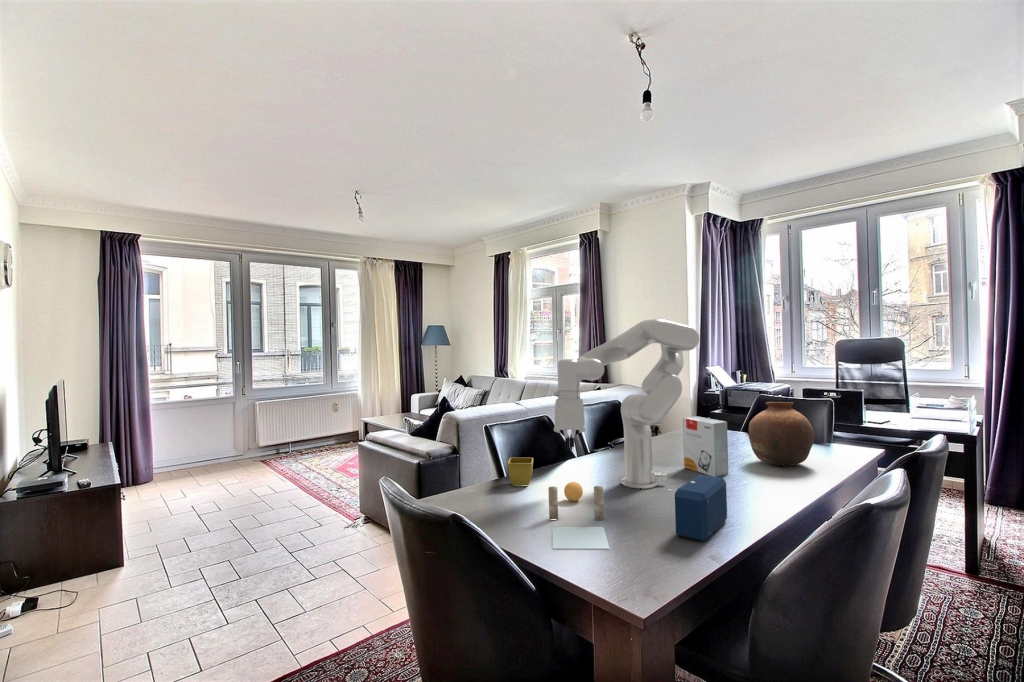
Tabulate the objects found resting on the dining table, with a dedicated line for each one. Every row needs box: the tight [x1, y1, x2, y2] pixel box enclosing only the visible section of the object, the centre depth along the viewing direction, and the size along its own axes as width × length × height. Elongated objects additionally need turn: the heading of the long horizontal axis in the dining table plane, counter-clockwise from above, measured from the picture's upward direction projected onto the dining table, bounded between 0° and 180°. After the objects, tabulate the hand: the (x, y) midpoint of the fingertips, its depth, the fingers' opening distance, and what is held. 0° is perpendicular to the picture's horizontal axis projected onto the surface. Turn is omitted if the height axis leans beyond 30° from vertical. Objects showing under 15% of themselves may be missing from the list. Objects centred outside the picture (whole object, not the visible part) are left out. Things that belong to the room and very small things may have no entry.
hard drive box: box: [682, 415, 729, 477], centre depth 189 cm, size 16×8×20 cm, turn 25°
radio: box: [674, 451, 728, 542], centre depth 133 cm, size 21×9×20 cm, turn 141°
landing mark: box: [551, 526, 611, 550], centre depth 129 cm, size 14×14×1 cm
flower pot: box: [507, 457, 534, 486], centre depth 178 cm, size 9×9×9 cm
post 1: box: [547, 485, 559, 520], centre depth 143 cm, size 3×3×9 cm
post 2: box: [593, 485, 605, 521], centre depth 142 cm, size 3×3×9 cm
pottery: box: [748, 401, 816, 467], centre depth 195 cm, size 23×23×25 cm
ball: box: [563, 481, 584, 502], centre depth 159 cm, size 6×6×6 cm
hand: (569, 448), depth 168 cm, fingers closed
